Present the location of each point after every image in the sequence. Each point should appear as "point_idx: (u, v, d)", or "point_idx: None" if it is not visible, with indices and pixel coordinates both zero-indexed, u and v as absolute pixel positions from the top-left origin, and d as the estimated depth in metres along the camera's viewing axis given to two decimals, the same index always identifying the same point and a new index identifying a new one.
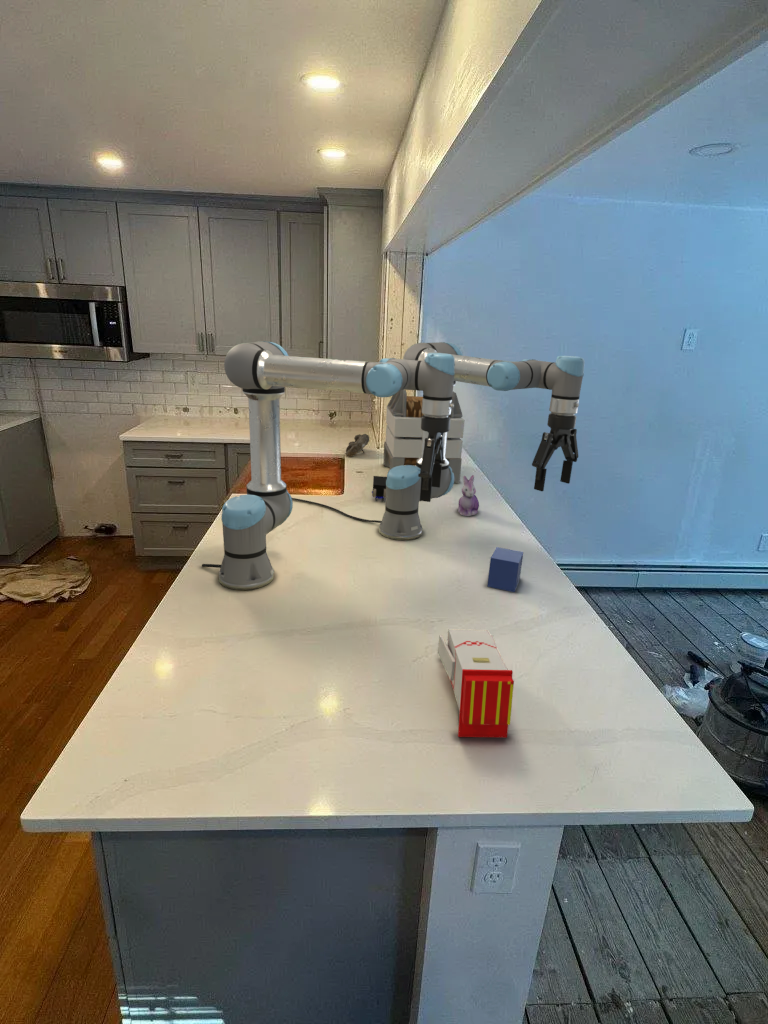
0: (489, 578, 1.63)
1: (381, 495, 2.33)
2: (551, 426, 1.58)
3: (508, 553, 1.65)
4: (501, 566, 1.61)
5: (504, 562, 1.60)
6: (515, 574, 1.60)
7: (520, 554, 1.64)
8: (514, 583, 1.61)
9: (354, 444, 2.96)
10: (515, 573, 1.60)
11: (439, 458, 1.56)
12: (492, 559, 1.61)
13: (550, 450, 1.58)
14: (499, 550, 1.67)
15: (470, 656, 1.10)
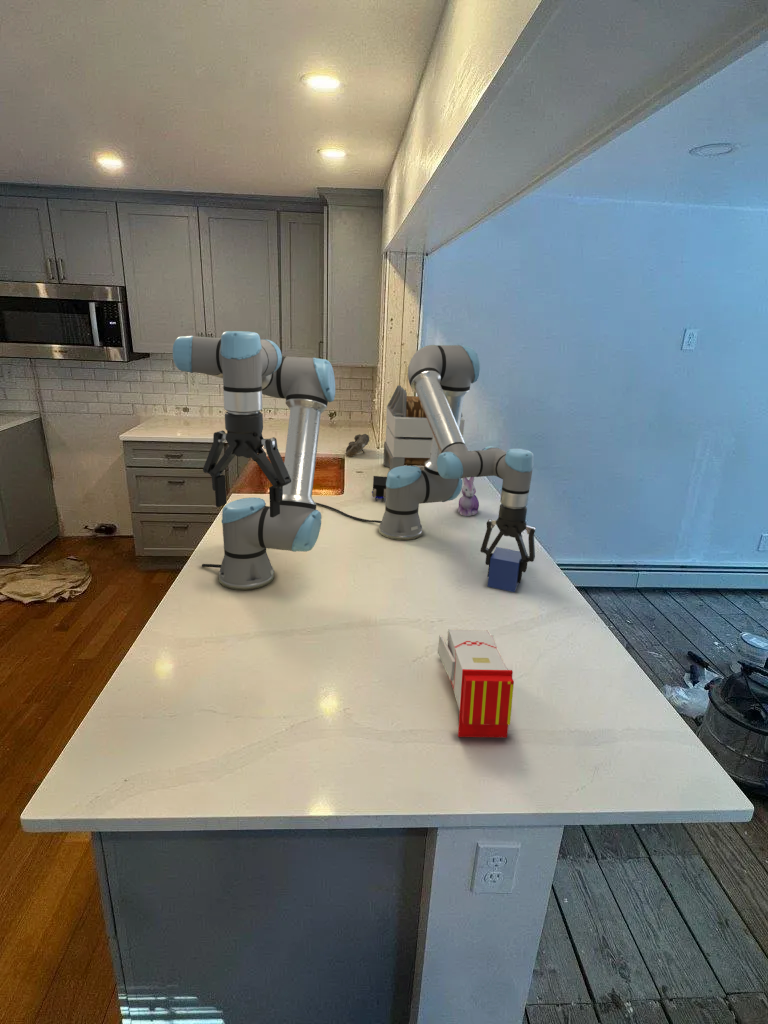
0: (489, 578, 1.63)
1: (381, 495, 2.33)
2: (524, 519, 1.58)
3: (508, 553, 1.65)
4: (501, 566, 1.61)
5: (504, 562, 1.60)
6: (515, 574, 1.60)
7: (520, 554, 1.64)
8: (514, 583, 1.61)
9: (354, 444, 2.96)
10: (515, 573, 1.60)
11: (225, 467, 1.22)
12: (492, 559, 1.61)
13: (522, 541, 1.62)
14: (499, 550, 1.67)
15: (470, 656, 1.10)
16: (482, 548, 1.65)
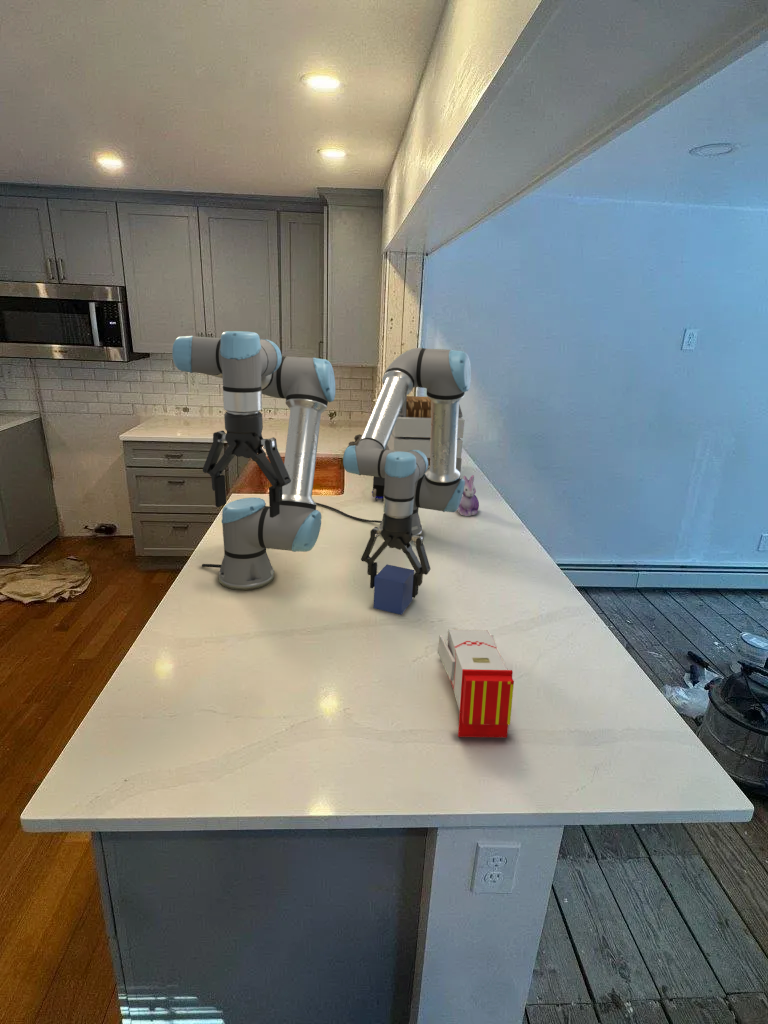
0: (374, 599, 1.49)
1: (381, 495, 2.33)
2: (409, 529, 1.43)
3: (396, 571, 1.50)
4: (385, 586, 1.46)
5: (389, 582, 1.45)
6: (400, 595, 1.45)
7: (409, 573, 1.50)
8: (400, 605, 1.46)
9: (354, 444, 2.96)
10: (400, 594, 1.45)
11: (224, 467, 1.22)
12: (376, 578, 1.47)
13: (413, 552, 1.46)
14: (388, 568, 1.52)
15: (470, 656, 1.10)
16: (363, 557, 1.50)
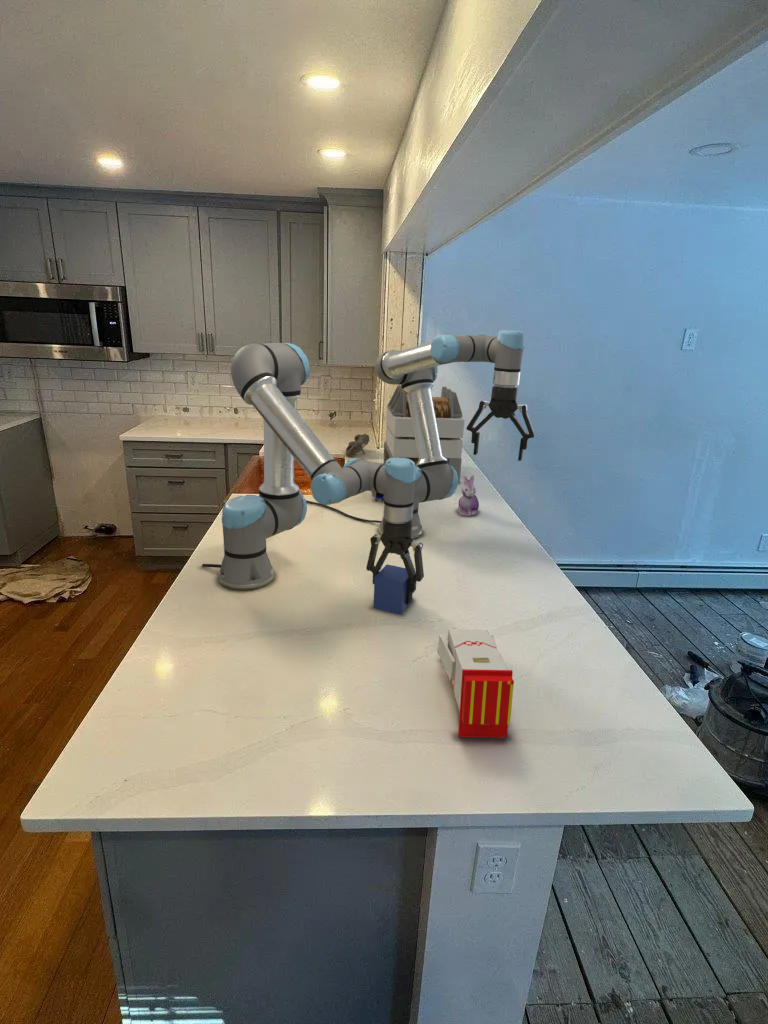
0: (374, 599, 1.49)
1: (381, 495, 2.33)
2: (516, 399, 1.65)
3: (396, 571, 1.50)
4: (385, 586, 1.46)
5: (389, 582, 1.45)
6: (400, 595, 1.45)
7: None
8: (400, 605, 1.46)
9: (354, 444, 2.96)
10: (400, 594, 1.45)
11: (382, 564, 1.51)
12: (376, 578, 1.47)
13: (518, 420, 1.68)
14: (388, 568, 1.52)
15: (470, 656, 1.10)
16: (468, 426, 1.72)
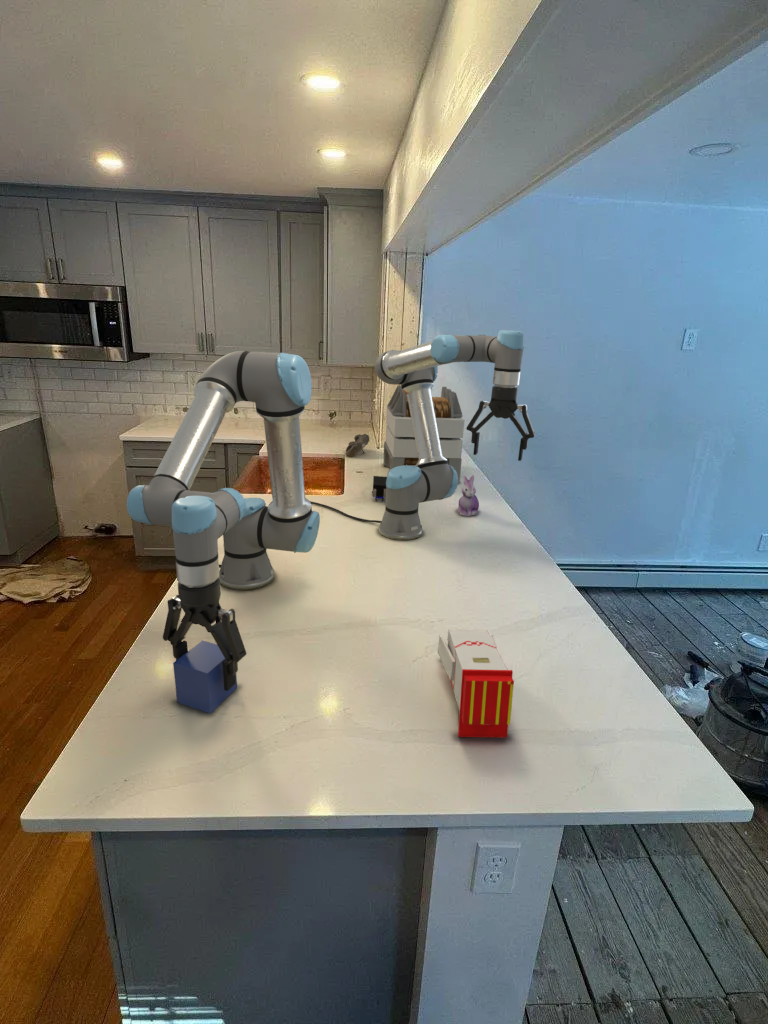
0: (177, 691, 1.11)
1: (381, 495, 2.33)
2: (516, 399, 1.65)
3: (208, 653, 1.12)
4: (187, 675, 1.08)
5: (190, 670, 1.07)
6: (206, 689, 1.07)
7: None
8: (207, 701, 1.08)
9: (354, 444, 2.96)
10: (206, 687, 1.07)
11: (185, 633, 1.12)
12: (175, 665, 1.08)
13: (518, 420, 1.68)
14: (201, 646, 1.14)
15: (470, 656, 1.10)
16: (468, 426, 1.72)
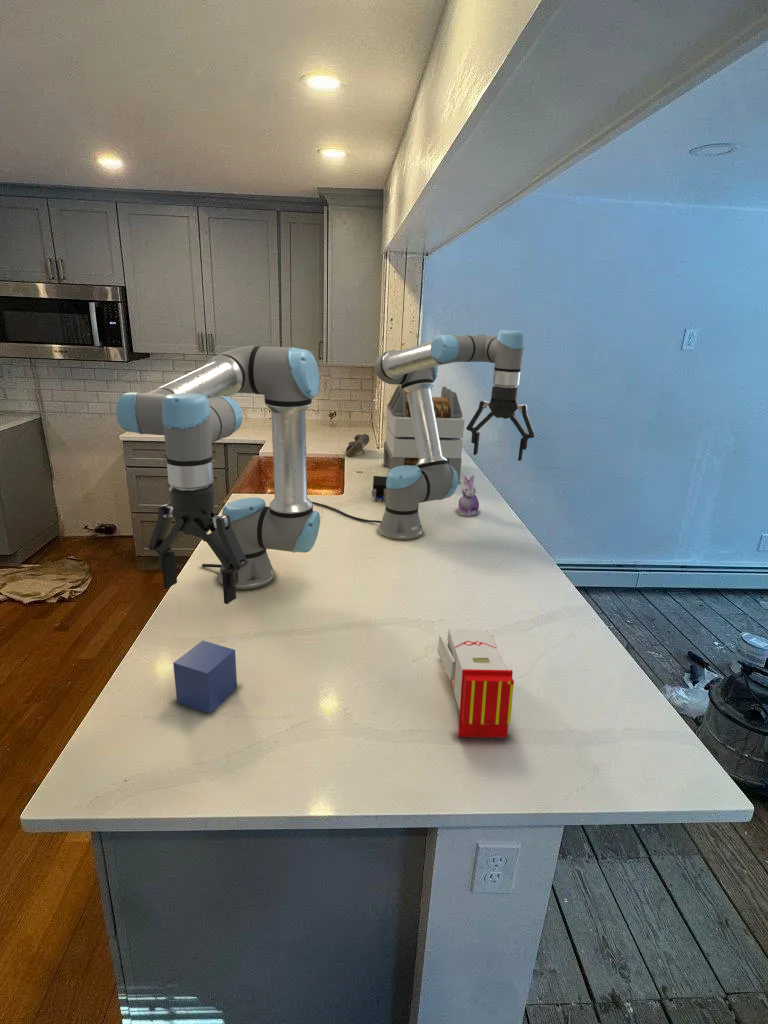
0: (177, 691, 1.11)
1: (381, 495, 2.33)
2: (516, 399, 1.65)
3: (208, 653, 1.12)
4: (187, 675, 1.08)
5: (190, 670, 1.07)
6: (206, 689, 1.07)
7: (225, 655, 1.11)
8: (207, 701, 1.08)
9: (354, 444, 2.96)
10: (206, 687, 1.07)
11: (173, 544, 1.06)
12: (175, 665, 1.08)
13: (518, 420, 1.68)
14: (201, 646, 1.14)
15: (470, 656, 1.10)
16: (468, 426, 1.72)
